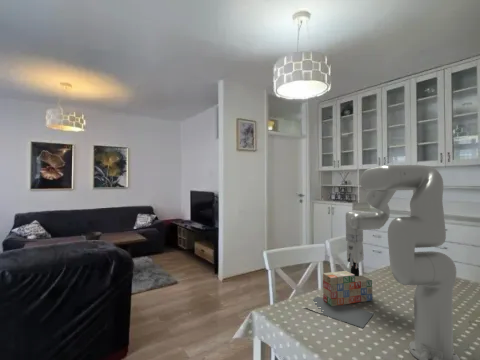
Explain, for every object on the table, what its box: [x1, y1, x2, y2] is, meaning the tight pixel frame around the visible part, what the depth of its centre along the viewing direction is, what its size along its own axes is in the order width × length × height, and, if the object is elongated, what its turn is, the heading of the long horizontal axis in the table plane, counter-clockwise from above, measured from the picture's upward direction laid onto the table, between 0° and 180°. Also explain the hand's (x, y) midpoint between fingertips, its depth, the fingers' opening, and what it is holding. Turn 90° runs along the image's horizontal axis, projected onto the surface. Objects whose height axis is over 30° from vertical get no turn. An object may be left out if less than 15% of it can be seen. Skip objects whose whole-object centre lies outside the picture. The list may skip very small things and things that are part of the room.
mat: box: [312, 296, 375, 329], centre depth 109 cm, size 14×24×1 cm, turn 49°
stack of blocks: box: [322, 270, 373, 306], centre depth 118 cm, size 21×6×12 cm, turn 105°
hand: (354, 276), depth 126 cm, fingers closed
